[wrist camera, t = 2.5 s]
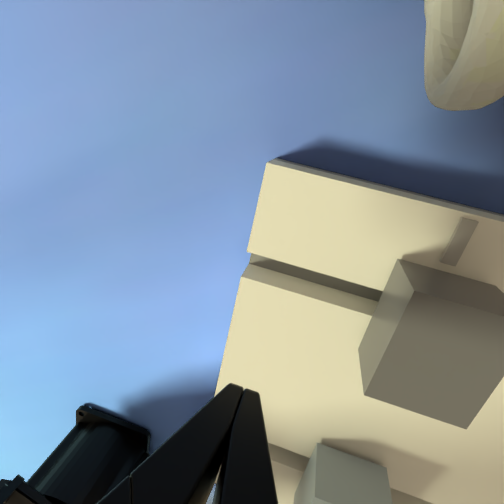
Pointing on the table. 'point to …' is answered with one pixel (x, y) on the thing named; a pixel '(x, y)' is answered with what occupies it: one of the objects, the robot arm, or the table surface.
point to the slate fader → (342, 480)
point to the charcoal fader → (434, 344)
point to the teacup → (464, 53)
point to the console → (355, 330)
